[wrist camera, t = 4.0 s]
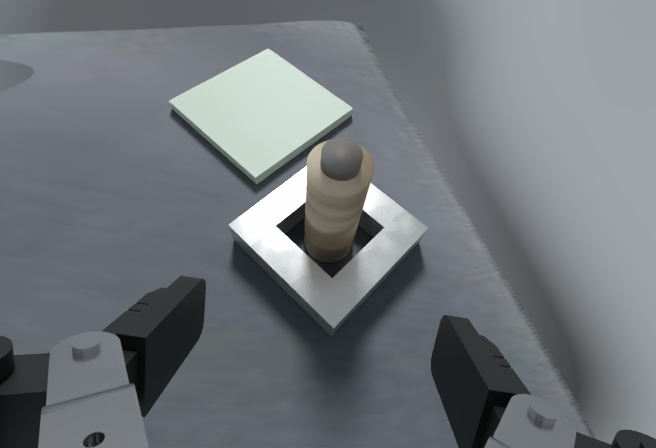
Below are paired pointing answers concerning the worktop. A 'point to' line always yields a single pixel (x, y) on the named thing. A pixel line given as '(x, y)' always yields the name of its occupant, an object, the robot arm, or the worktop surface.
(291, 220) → the grey square frame
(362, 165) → the key peg
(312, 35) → the worktop surface
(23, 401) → the robot arm
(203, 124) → the set down board
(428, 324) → the worktop surface
